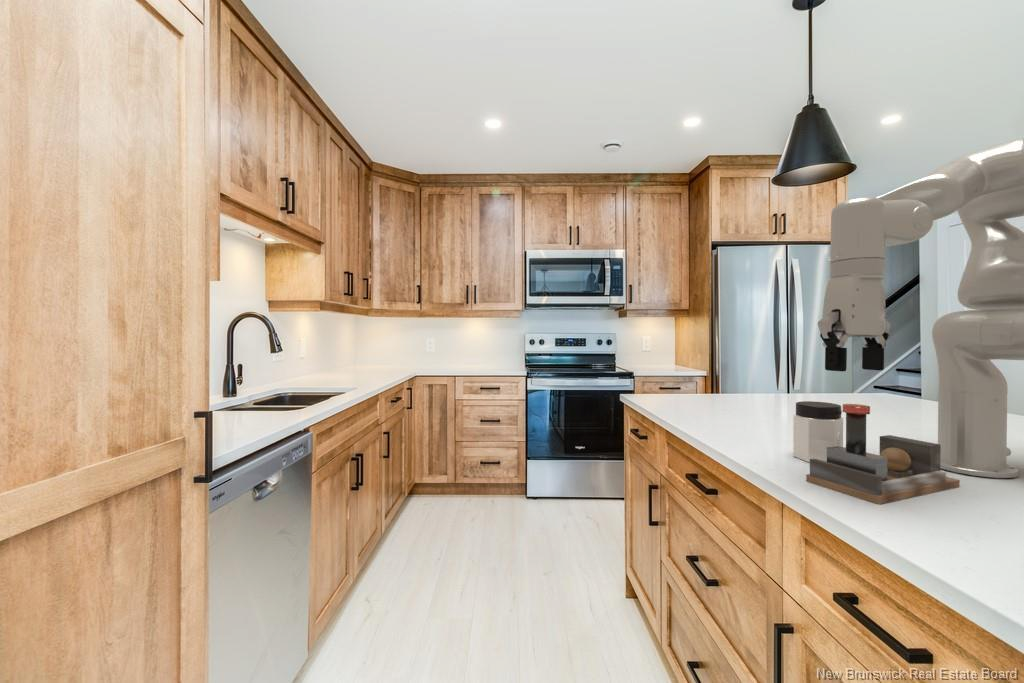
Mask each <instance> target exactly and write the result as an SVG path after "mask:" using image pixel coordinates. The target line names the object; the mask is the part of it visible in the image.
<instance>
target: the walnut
mask: <svg viewBox="0 0 1024 683" xmlns="http://www.w3.org/2000/svg"><path fill="white" fill-rule="evenodd" d="M879 455H880V456H884V457H887V469H888V470H892V471H896V472H903V471H905V470H907V469H908V468H909V467H910V465H911V459H910V456H909V455H908V454H907V453H906V452H905V451H903V450H901V449H899V448H893V447H892V448H887V449H885V450H883V451H882V452H881V454H880V453H879Z"/></svg>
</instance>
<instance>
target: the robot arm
mask: <svg viewBox="0 0 1024 683" xmlns="http://www.w3.org/2000/svg"><path fill="white" fill-rule="evenodd" d="M831 210H832V211H831V214H830V215H831V216H830V249H829V250H830V253H829V255H830V256H829V262H830V264H829V280H828V281H827V284H826V288H825V293H824V299H823V306H822V317H821V319H820V320H818V322H817V326H818V329H819V332H820V334H819V336H820V339H821V341H823V342H822V346H823V347H824V351H825V352H824V357H825V358H824V370H825V371H831V372H833V371H834V372H846V371H847V364H848V363H847V360H848V359H847V358H848V357H847V356H848V355H847V354H848V352H847V351H848V348H847V347H844V346H845V344H846V343H847V342H848V339H849V338H851V337H853V338H854V337H857V338H859V337H860V338H861V340H862V342H863V344H864V346H865V347H861V348H862V352H861V355H862V358H861V368H862V370H866V371H868V370H869V371H884V370H885V348H886V347H887V341H888V338H889V336H890V334H889V332H890V329H891V326H892V324H891V322H889V320H887V319H886V317H887V314H886V312H887V311H886V309H887V308H886V296H885V295H886V294H885V286H884V280H885V275H886V274H885V273H886V272H885V270H886V268H885V267H886V266H885V265H886V248H888V247H893V246H900V245H906V244H910V243H913V242H917V241H918V240H920V239H922V238H924V237H925V236H926V235H927V234H928V233H929V232H930V230H932V228H933V227H932V226H933V225H934V221H937V220H939V219H943V218H946V217H947V216H949V215H952V214H953V213H955V212H956V211H957V214H958V216H959V218H960V221H961V224H962V225H963V227H964V228H965V231H966V233H967V235H968V238H969V240H970V243H971V247H970V248H971V249H970V253H969V256H968V258H967V262H966V265H965V268H964V271H963V273H962V275H961V276H962V277H961V278H960V282H959V285H958V288H957V299H958V302H959V303H960V304H961V305H962V306H963V307H965V308H967V309H970V310H959V311H953V312H950V313H946V314H944V315H942V316H940V317H938V319H937V320H936V321H935V322H934V323H933V326H932V331H931V336H932V342H933V346H934V350H935V351H934V352H935V354H936V360H937V370H938V371H937V372H938V382H937V383H938V384H937V385H938V388H937V389H938V390H937V391H938V394H937V395H938V396H937V397H938V398H937V407H938V408H937V444H941V465H940V470H941V469H942V470H945V471H949V472H952V473H957V474H962V475H968V476H974V477H975V476H976V477H982V478H993V479H994V478H995V479H1013V478H1017V477H1019V474H1020V472H1019V471H1020V470H1019V469H1018V468H1016V467H1015V466H1013V465H1010V464H1007V457H1008V456H1011V454H1012V451H1011V450H1012V449H1010V448H1009V447H1007V442H1008V441H1007V438H1008V392H1009V390H1008V382H1007V379H1006V377H1005V376H1004V373H1002V371H1001V370H1000V369H999V368H998V366H996V365H995V363H993V361H992V360H1000V361H1001V360H1003V361H1004V360H1007V361H1024V231H1023V230H1021V229H1019V228H1018V227H1016V226H1014V225H1012V224H1011V223H1009V222H1008V220H1009V219H1014V218H1019V217H1024V138H1018V139H1017V138H1016V139H1013V140H1011V141H1007V142H1004V143H1000V144H997V145H993V146H990V147H986V148H984V149H979V150H976V151H973V152H970V153H967V154H964V155H961V156H959V157H956V158H954V159H953V160H951V161H949V162H947V163H945V164H943V165H942V166H940V167H938V168H937V169H935V170H933V171H931V172H929V173H928V174H926V175H924V176H922V177H921V178H919V179H915V181H911V182H909V183H906V184H904V185H902V186H900V187H897V188H896V189H893V190H891V191H889V192H886V193H885V194H882V195H880V196H876V197H871V196H870V197H868V196H865V197H857V198H853V199H848V200H845V201H841V202H839V203H838V204H836V205H835V206H834V207H833V208H832V209H831Z"/></svg>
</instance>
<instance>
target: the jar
mask: <svg viewBox="0 0 1024 683" xmlns="http://www.w3.org/2000/svg"><path fill="white" fill-rule="evenodd" d="M842 414H843V409H842V406H841V404H837V403H832V402H825V401H813V400H812V401H811V400H809V401H807V400H806V401H805V400H803V401H797V402H795V413H794V414H793V424H792V426H793V431H792V432H793V439H792V441H793V446H792V449H793V452H792V453H793V457H795V458H796V459H799V460H802V461H805V462H807V463H810V459H818V460H822V461H826V462H827V447H834V446H840V447H844V418H843V417H842Z"/></svg>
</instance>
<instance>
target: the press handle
mask: <svg viewBox="0 0 1024 683" xmlns="http://www.w3.org/2000/svg"><path fill="white" fill-rule="evenodd" d="M842 413H845V446H843V447H840V446H834V447H827V462H829V463H833V464H837V465H841V466H845V467H848V468H852V469H856V470H860V471H863V472H867V473H871V474H875V475H878V476H882V482H883V481H887V457H884V456H880V454H877V453H876V454H874V453H871V452H867V415H870V414H871V406H870V405H866V404H859V403H858V404H857V403H842Z"/></svg>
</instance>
